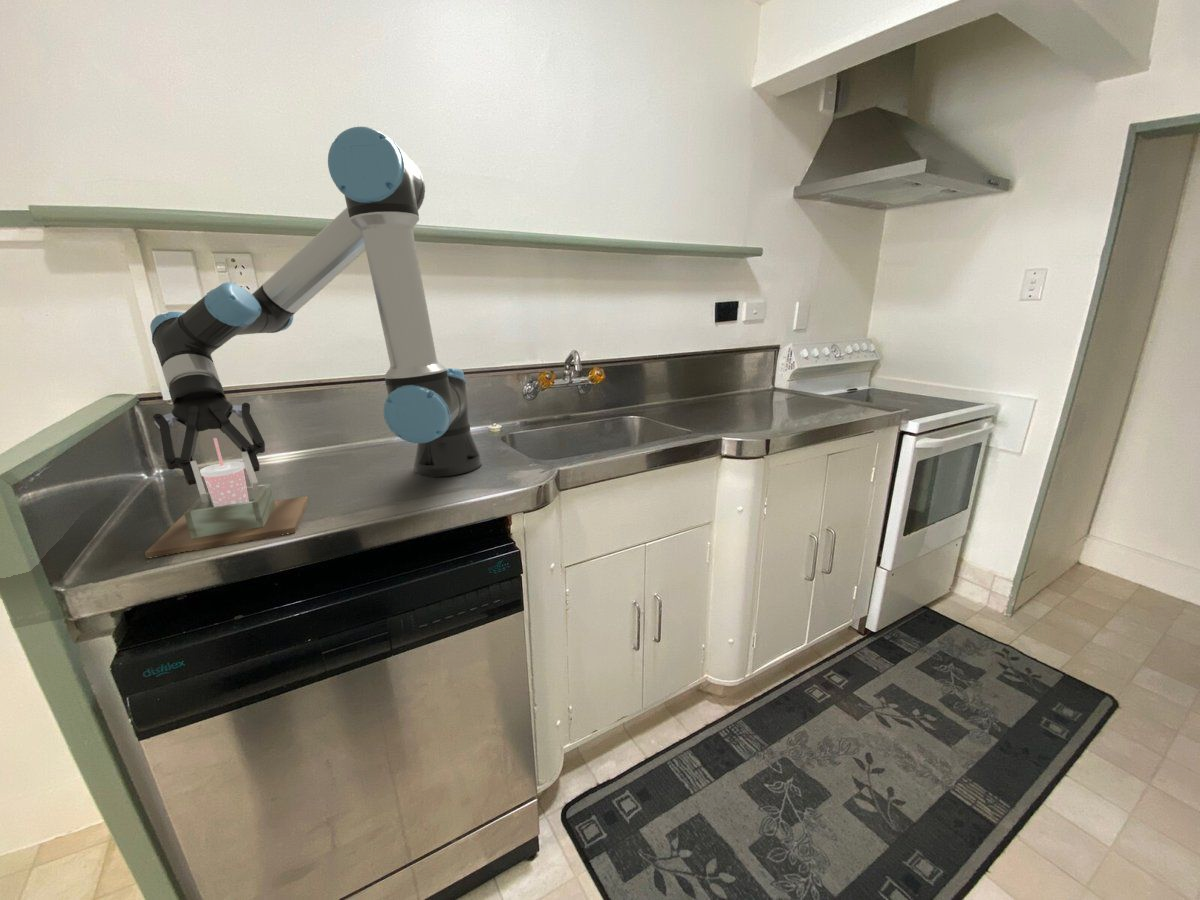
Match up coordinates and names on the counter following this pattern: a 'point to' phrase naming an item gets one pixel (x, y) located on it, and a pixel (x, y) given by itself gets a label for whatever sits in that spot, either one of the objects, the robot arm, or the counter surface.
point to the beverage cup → (225, 481)
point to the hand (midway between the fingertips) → (230, 492)
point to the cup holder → (231, 522)
